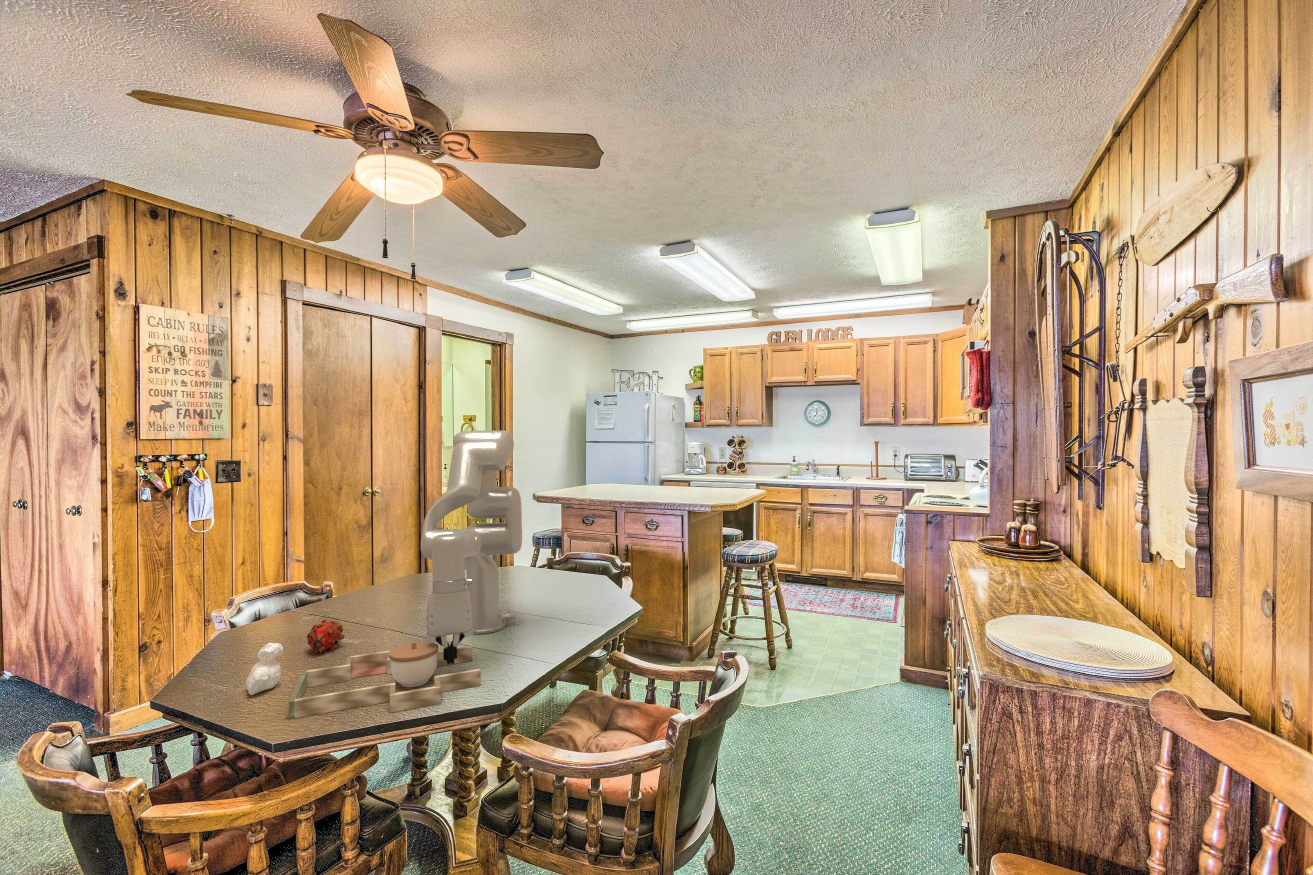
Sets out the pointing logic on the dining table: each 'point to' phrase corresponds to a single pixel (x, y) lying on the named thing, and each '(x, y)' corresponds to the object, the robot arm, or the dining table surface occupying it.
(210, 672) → the dining table surface
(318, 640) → the dragon fruit
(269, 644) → the duck figurine
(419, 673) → the lidded jar
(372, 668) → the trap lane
